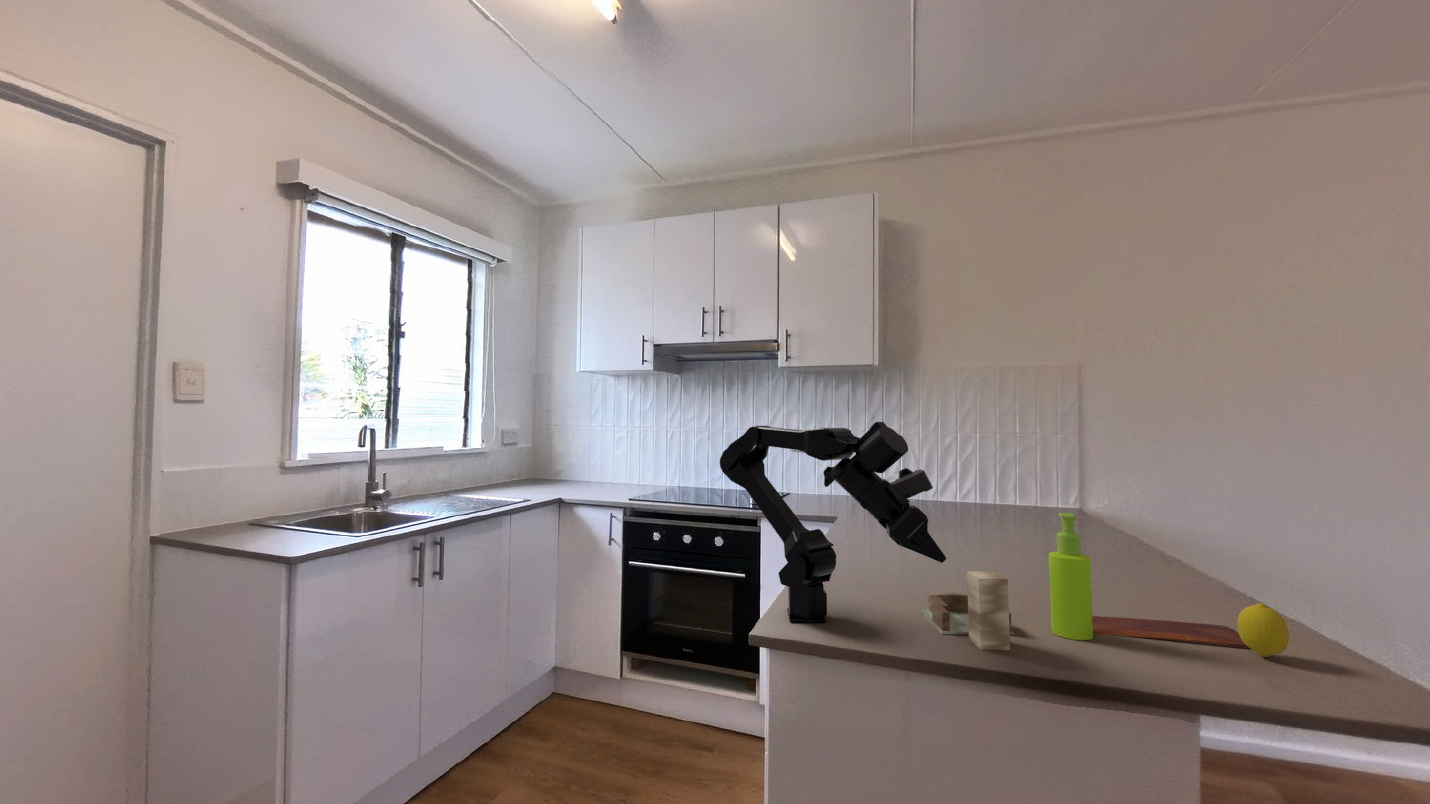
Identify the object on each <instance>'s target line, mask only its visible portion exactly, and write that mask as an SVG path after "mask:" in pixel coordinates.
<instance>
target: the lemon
mask: <svg viewBox="0 0 1430 804" xmlns="http://www.w3.org/2000/svg"><path fill="white" fill-rule="evenodd" d="M1237 632H1238V633H1239V636H1240V638H1241V639H1242V641H1243V642H1244V643H1245V644H1246V645H1247V646H1248V647H1249V648H1250V649H1249V650H1252V651H1254V652H1256V653H1257V655H1259V656H1260V657H1261V656H1262V657H1261V658H1264V657H1267V658H1269V657H1270V656H1273V655H1278V654H1281V653H1282V652H1284V651H1285V650H1286V649H1287V647H1288V645H1289V641H1290V630H1289V628H1288V625H1287V622H1286V621H1285V619H1284V617H1282V615H1281V614H1279V612H1278V611H1276V610H1275V609H1273V608H1271V607H1268V606H1266V604H1265V603H1259V602H1258V603H1257V604H1254V605H1249V606H1247V607H1245V608H1243V609H1242V610H1241V611H1240V612H1239V615H1238V619H1237Z"/></svg>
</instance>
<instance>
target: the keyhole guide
mask: <svg viewBox="0 0 1430 804" xmlns="http://www.w3.org/2000/svg"><path fill="white" fill-rule="evenodd" d="M919 612H920V613H921V614H922V613H923V614H924V615H923V614H922V615H923V616H924V617H925V618H926V619H927V620H928V622H930V623H931V625H933V627H935V628H936V630H937V631H938V632H939V633H940V634H941V635H968V636H969V621H968V592H967V593H955V592H954V593H953V592H952V593H951V592H950V593H949V592H946V593H945V592H943V593H941V592H928V593H927V608H920V609H919ZM1009 632H1010V636H1016V633H1015V632H1014V630H1012V613H1011V612H1010V611H1009Z"/></svg>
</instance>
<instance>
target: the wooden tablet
mask: <svg viewBox="0 0 1430 804" xmlns="http://www.w3.org/2000/svg"><path fill="white" fill-rule="evenodd" d="M1092 625H1093V635H1094V634H1095V635H1104V636H1113V637H1114V636H1115V637H1126V638H1129V637H1130V638H1136V639H1137V638H1139V639H1147V640H1150V639H1151V640H1161V641H1172V642H1181V643H1190V644H1198V645H1208V646H1216V647H1226V648H1233V649H1234V648H1237V649H1245V648H1249V647H1248V646H1247V645H1246V644H1245V643H1244V642H1243V641H1242V639H1241V638H1240V636H1239V632H1238V630H1237V631H1236V630H1235V629H1233V628H1231V627H1229V626H1225V625H1219V624H1210V623H1209V624H1208V623H1200V622H1188V621H1187V622H1186V621H1175V620H1163V619H1162V620H1161V619H1148V618H1134V617H1133V618H1132V617H1117V616H1099V615H1092Z"/></svg>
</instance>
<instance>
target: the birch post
mask: <svg viewBox="0 0 1430 804" xmlns="http://www.w3.org/2000/svg"><path fill="white" fill-rule="evenodd" d="M966 573H967V574H966V575H967V576H966V578H967V582H966V583H967V594H968V621H969V635H968V639H969V641H971V642H972V643H973V644H974V645H975V646H976V647H977V648H978V649H979V650H981V651H982V650H990V651H991V650H992V651H1011V641H1010V640H1011V639H1010V638H1011V637H1010V636H1011V635H1010V632H1009V612H1010V606H1009V605H1010V602H1009V601H1010V600H1009V579H1008V578H1007V577H1005V576H1004V575H1002V574H1001V573H998V572H996V571H989V570H988V571H979V570H977V571H976V570H967V571H966Z"/></svg>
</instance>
